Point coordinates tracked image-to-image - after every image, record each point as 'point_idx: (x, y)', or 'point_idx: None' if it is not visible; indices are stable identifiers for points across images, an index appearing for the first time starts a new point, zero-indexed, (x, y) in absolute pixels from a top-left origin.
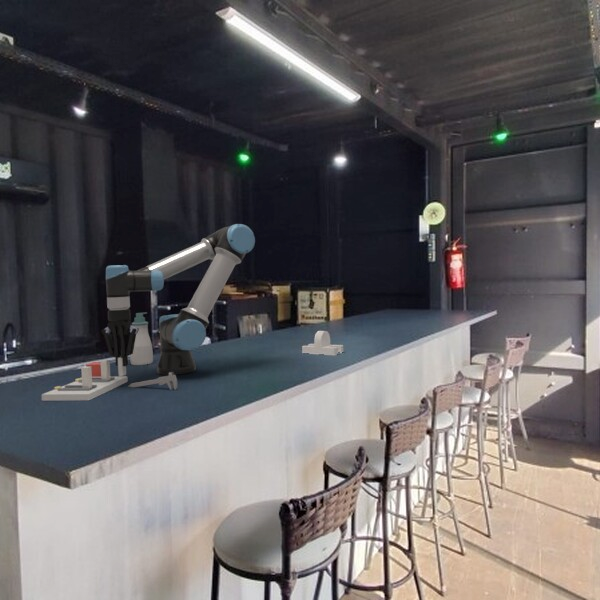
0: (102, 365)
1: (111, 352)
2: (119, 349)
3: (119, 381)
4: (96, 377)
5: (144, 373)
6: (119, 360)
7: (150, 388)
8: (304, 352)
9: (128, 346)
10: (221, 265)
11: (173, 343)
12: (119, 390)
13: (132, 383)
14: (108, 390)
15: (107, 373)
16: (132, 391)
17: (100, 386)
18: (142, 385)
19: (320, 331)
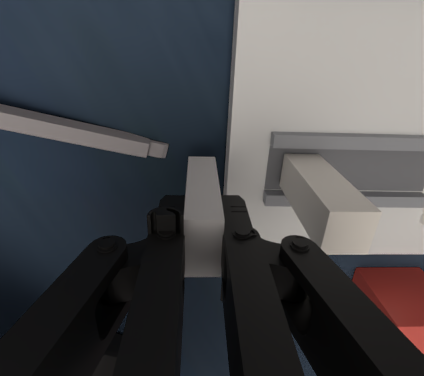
0: (348, 193)
1: (302, 257)
2: (227, 311)
3: (226, 176)
4: None
5: (215, 355)
6: (206, 205)
7: (12, 96)
8: None
9: (63, 315)
10: None
11: None
12: (173, 59)
13: (135, 142)
14: (232, 46)
15: (295, 173)
16: (77, 26)
17: (274, 11)
18: (67, 120)
19: None
